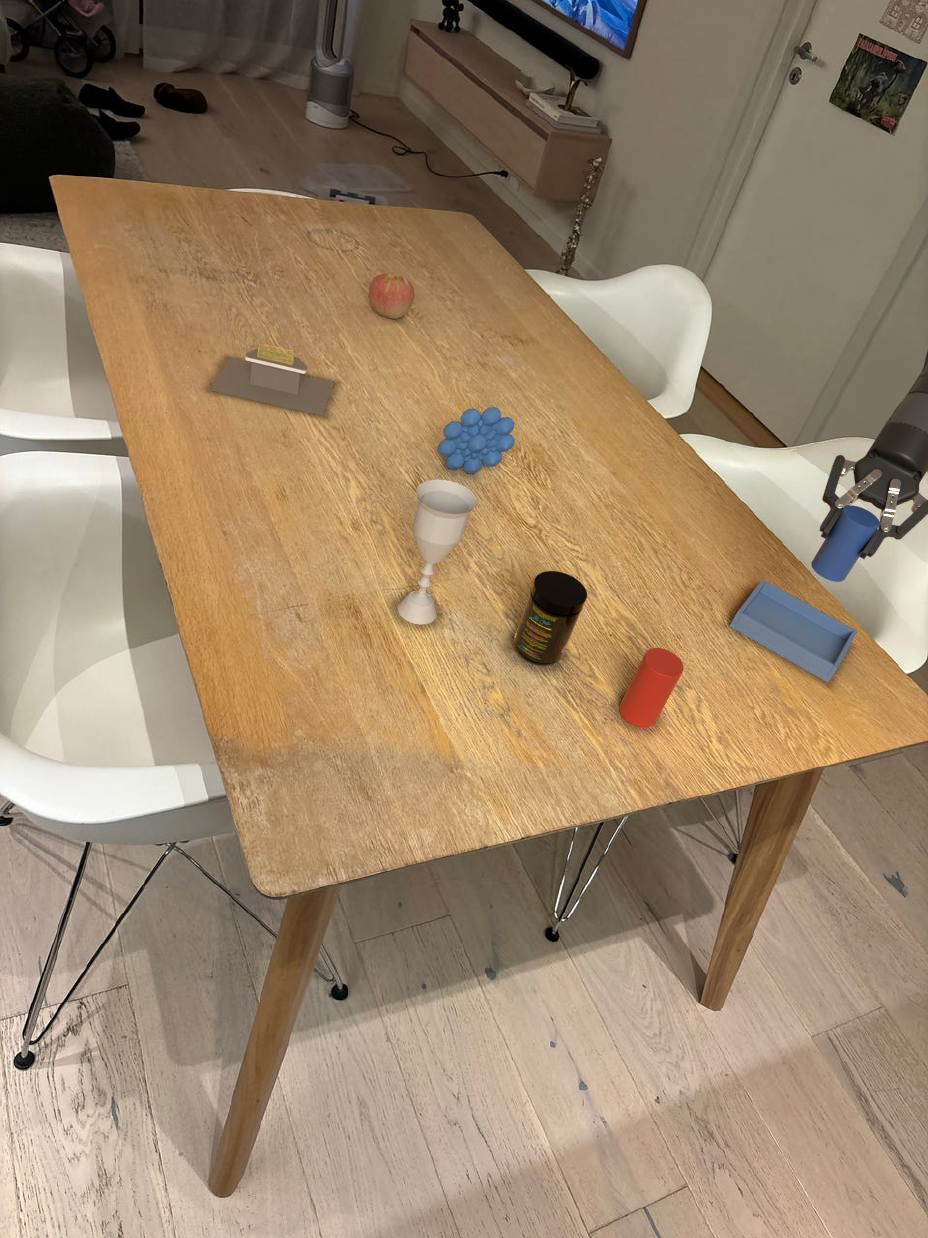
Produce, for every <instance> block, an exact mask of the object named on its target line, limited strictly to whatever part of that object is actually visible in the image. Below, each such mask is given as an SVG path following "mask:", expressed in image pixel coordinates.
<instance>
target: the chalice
mask: <svg viewBox="0 0 928 1238" xmlns="http://www.w3.org/2000/svg"><path fill="white" fill-rule="evenodd" d="M415 492H416V498H417V501H418V502H417V505H416V510H415V514H414V517H413V521H412V522H413V523H412V530H413V534H414V535H413V536H414V541H415V545H416V548H417V549H418V553H419V555H420V556H419V557H420V558H421V559H422V560H423V561H425V563H424V565H423V567H421V568H420V572H421V574H422V576H421V578H418V580H417V584H418V586H419V587H418V588H419V589H418V590H417V589H416V590H412V591H410V592H409V593H407V595H406V596H405V597H404V598H403V599H402V600H401V602H399V603H398V606H397V612H398V614H399V615H400V617H401V618H402V619H404V621H406V622H408V623H411V624H415V625H428V624H430V623H433V622H434V621H435V620H436V619H437V610H436V606H435V600H434V599H433V597H432V596H431V595H430V594H429V593H428V592H427V590H428V588H430V587H431V586H432V581H431V576H432V575H434V574H435V570H434V564H438V563H440V562H442V561H443V560H444V559H445V558H446V557H447V556H448V555H449V554H450V553H452V551H454V550H455V548H456V547H457V546H458V544H459V543H460V542H461V541H462V539H463V537H464V534H465V530H466V527H467V524H468V520H469V516H470V513H472V511H473V510H474V509H475V508H476V506H477V504H478V500H477V496H476V495H475V493H473V491H472V490H471V489H469V488H468V487H467V486H465V485H463V484H460V483H458V482H455V481H451V480H448V479H447V480H446V479H430V480H427V481H424V482H421V483H420V484H419V485H418V486H417V487H416V490H415Z"/></svg>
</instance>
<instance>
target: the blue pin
mask: <svg viewBox="0 0 928 1238" xmlns="http://www.w3.org/2000/svg"><path fill="white" fill-rule="evenodd" d="M879 525H880V518H878V517H877V516H876V515H875V514H874V513H873V512H871V511H870V510H868V509H866V508H863V507H861V506H858V505H853V504H851V505H849V506H846V507H845V508H844V509H843V511H842V512H841V514H840V516H839V518H838V519H837V521H836V523H835V524H834V526H833V528H832V529H831V531H830V533H829V534H828V536H827V537H826V539H825V538H824V540H823V542H822V544H821V545H820V547H819V549H818V551H817V552H816V554H815V556H814V558H813V559H812V561H811V563H810V564H811V568H812V570H813V571H814V572H815V573H816V574H817V575H819V576H820V577H821V578H824V579H825V580H827V581H831V582H835V583H840V582H841V583H842V582H843V581H845V580H846V579H847V577H848V575H849V574H850V573H851V570H853V568H854V566H855V564H857V561H858V560H859V558H860V557H859V556H860V555H861V553H862V552H863V550H864V548H865V547H866V545H867V544H868V542H869V541H870V539H871V538H872V536H873V534H874V533H875V531H876V530H877V529H878V527H879Z"/></svg>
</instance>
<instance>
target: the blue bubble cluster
mask: <svg viewBox="0 0 928 1238" xmlns="http://www.w3.org/2000/svg"><path fill="white" fill-rule="evenodd" d="M514 429H515V421H514V420H513V418H511V417H509V416H504V417H502V412H501V410H500V409H499V408H498V407H497V406H490V407H487V408H486V409H484V410H483V412H482V413H481V412H480V410H479V409H477V408H468V409H466V410H464V411H463V412H462V414H461V415H460V421H458V420H453V421H450V422H448V423H447V424H446V425H445V426H444V427H443V429H442V430H443V431H442V433H443V436H444V437H445V438H444V439H443V440H441V441H440V442H439V443H438V444H437V453H438V454H439V456H441V457H445V462H444V464H445V467H446V468H447V469H448V470H450V471H456V470H459V469H460V468H462V470H463V471H464V473H465V474H468V475H474V474H476V473H478V472H479V471H481V469H482V468H483V466H485V467H486V468H494V467H496V466H497V465H499V464H500V463H501V461H502V459H503V454H502V453H506V452H509V451H510V450H511V449H512V448H513V447H514V446H515V438H514V436H513V434H511V433H512V432H513V430H514Z"/></svg>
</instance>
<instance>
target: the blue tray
mask: <svg viewBox="0 0 928 1238" xmlns="http://www.w3.org/2000/svg"><path fill="white" fill-rule="evenodd" d="M729 627H730V628H732V629H734V631H737V632H738V633H740V634H742V635H744V636H746V637H747V638H749V639H750V640H752V641H754V642H756V643H757V644H759V645H761V646H763V647H764V648H766V649H768V650H769V651H771V652H773V653H775V654H777V655H778V656H780V657H782V658H784V659H786V660H787V661H789V662H791V663H792V664H795V666H798V667H800V668H801V669H803V670H805V671H806V672H808V673H810V674H812V675H814V676H815V677H817V678H819V679H821V680H822V681H824V682H825V683H826V684H827V683H829V681H830V680H831V679H832V678H833V676H834V675H835V673H836V672H837V670H838V668H839V667H840V665H841V663H842V661H843V659H844V658H845V656H846V654H847V652H848V650H849V648H850V647H851V644H852V643H853V641H854V639H855V637H856V635H857V633H858V630H856V629H854V628H852V627H851V626H849V625H847V624H846V623H843V622H841V621H840V620H838V619H836V618H835V617H833V616H832V615H829V614H827V613H825V612H823V611H822V610H820V609H818V608H816V607H814V606H813V605H810V604H809V603H808V602H805V601H804V600H802V599H801V598H798V597H796V596H794V595H793V594H791V593H789V592H787V591H785V590H783V589H782V588H780V587H778V586H776V585H775V584H773V583H771V582H769V581H767V580H765V579H763V578H762V579H761V580H760V582H758V585H756V587H755V588H754V589H753V591H752V592H751V594H749V596H748V597H747V598H746V600H745V601H744V603H743V604H742V605H741V606H740V608H739V609H738V610H737V612H736V614H735V615H734V617H733V619H732V621H731V622H730V624H729Z"/></svg>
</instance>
